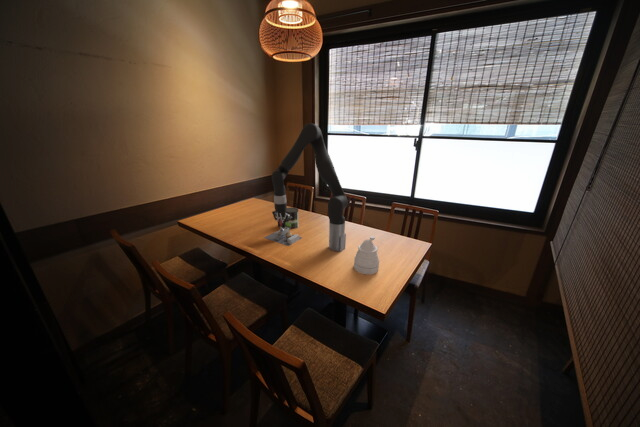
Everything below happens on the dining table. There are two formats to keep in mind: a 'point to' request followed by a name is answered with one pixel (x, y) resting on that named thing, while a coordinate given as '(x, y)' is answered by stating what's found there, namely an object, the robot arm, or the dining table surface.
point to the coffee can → (292, 218)
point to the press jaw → (281, 232)
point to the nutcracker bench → (284, 239)
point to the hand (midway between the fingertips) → (281, 227)
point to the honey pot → (367, 257)
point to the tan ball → (288, 234)
